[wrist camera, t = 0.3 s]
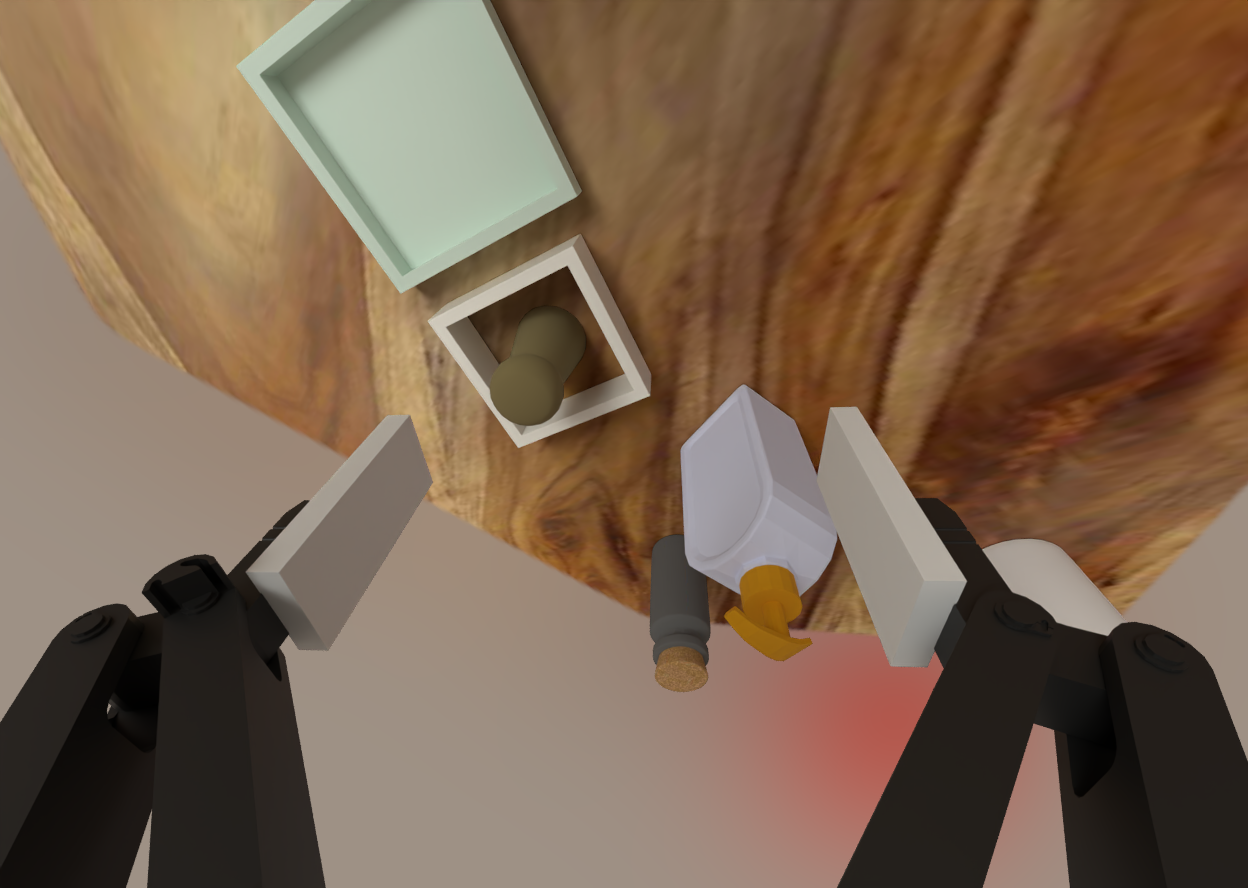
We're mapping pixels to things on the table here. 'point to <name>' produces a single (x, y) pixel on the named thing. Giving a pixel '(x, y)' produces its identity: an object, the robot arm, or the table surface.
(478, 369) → the frame
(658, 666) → the bottle
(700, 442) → the soap bottle
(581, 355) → the cork
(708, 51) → the table surface
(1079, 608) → the cup
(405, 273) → the tray
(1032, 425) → the table surface
